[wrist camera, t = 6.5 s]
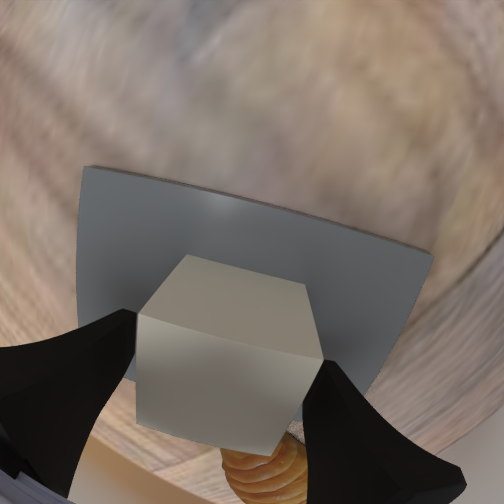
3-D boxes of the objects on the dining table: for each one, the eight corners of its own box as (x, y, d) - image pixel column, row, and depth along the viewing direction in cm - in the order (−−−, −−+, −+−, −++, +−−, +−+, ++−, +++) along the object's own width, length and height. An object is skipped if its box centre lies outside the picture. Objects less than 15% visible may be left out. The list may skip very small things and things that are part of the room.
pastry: (198, 429, 17) (187, 473, 13) (295, 408, 16) (299, 458, 12) (253, 485, 19) (251, 520, 16) (330, 470, 18) (335, 507, 14)
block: (305, 284, 12) (323, 359, 7) (271, 373, 14) (270, 456, 9) (186, 253, 12) (138, 313, 7) (171, 348, 13) (136, 423, 9)
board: (426, 251, 12) (434, 256, 11) (341, 416, 15) (343, 425, 15) (93, 165, 12) (83, 166, 11) (87, 353, 15) (82, 360, 14)
